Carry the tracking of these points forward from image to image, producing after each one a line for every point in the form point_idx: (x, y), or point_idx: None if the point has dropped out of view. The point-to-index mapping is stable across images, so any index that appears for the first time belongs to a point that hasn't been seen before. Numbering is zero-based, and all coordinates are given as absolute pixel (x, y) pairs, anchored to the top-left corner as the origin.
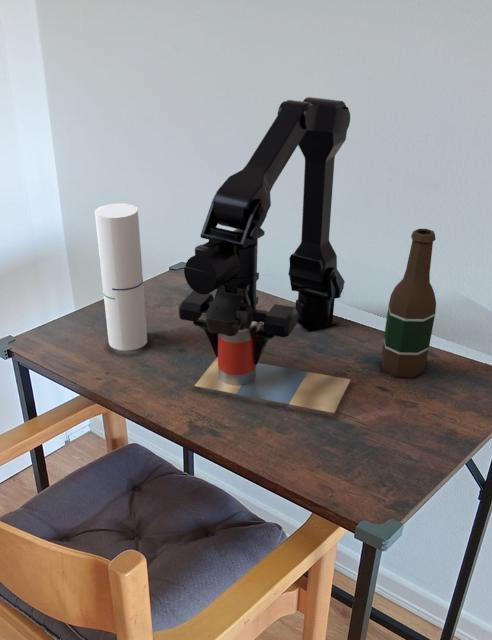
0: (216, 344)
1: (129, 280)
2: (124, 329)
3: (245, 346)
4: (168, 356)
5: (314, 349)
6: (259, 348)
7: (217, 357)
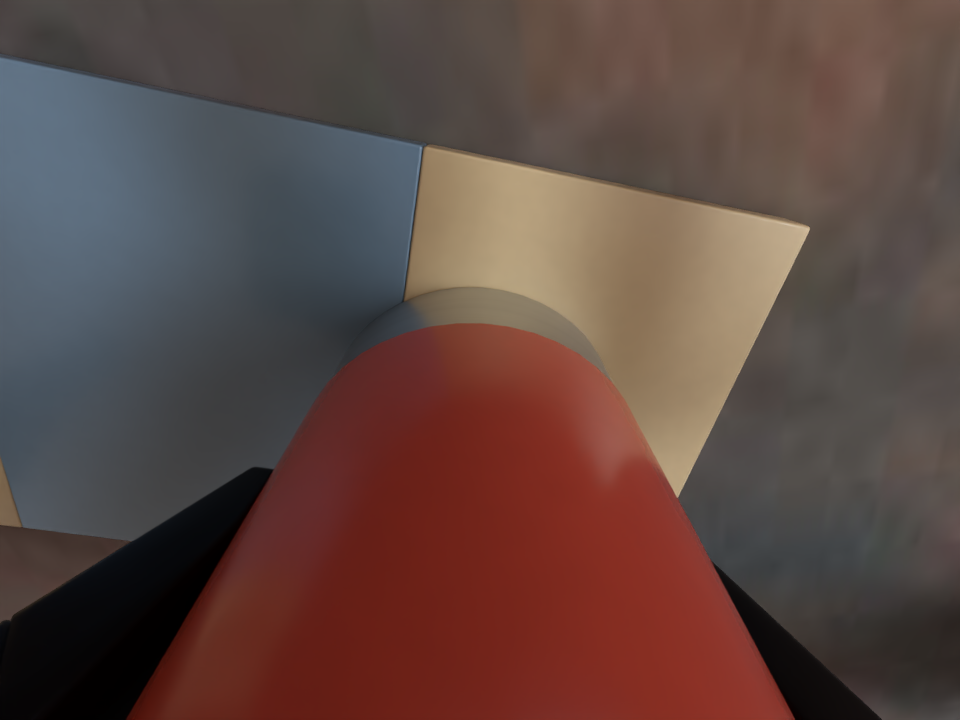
0: None
1: None
2: None
3: (207, 664)
4: (907, 575)
5: None
6: (5, 651)
7: None
